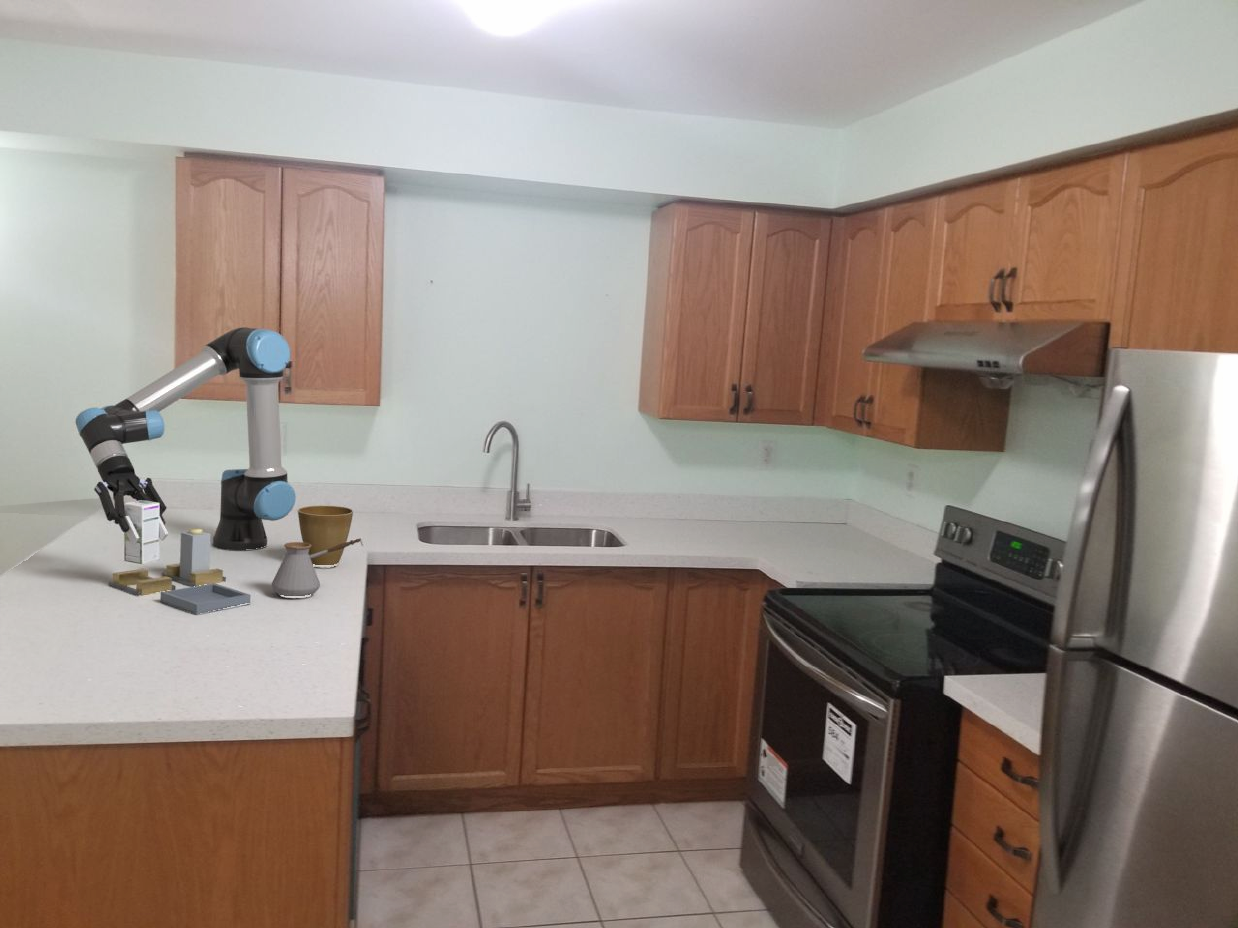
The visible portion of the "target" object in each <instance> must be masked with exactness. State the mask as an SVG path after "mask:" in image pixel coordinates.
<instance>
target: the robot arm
mask: <svg viewBox="0 0 1238 928" xmlns="http://www.w3.org/2000/svg"><path fill="white" fill-rule="evenodd" d="M201 348H202V349H201V352H200V353H198V354H197V355H195V356H193V357H192V358H190V359H188V360H186V361H185V362H183V363H182V364H180V365H179V366H177V367H176V368H173V369H172V370H170V371H169V372H167V373H166V374H164V375H162V376H161V377H159V378H157V379H156V380H154V381H153V382H151V383H150V384H148V385H145V387H143V388H141V389H139V390H138V391H136V392H135V393H133V394H132V395H130V396H128V397H126V398H125V399H123V400H121V401H120V402H118V403H116V404H115V405H105V406H103V407H102V408H101V407H100V408H99V407H90V408H86V409H85V410H82V411H81V412H79V414H78V415H77V416H76V418H75V422H74V423H75V425H76V428H77V431H78V435H79V436H80V437H81V439H82V441H83V443H84V445H85V447H86V449H87V451H88V453H89V455H90V457H91V459H92V462H93V463H94V465H95V467H96V469H97V473H98V475H99V476H100V479H101V480H102V481H103V482H102V481H98V482H97V484H96V485H95V487H94V489H93V490H94V492H95V493H96V494H97V495H98V497H99V500H100V502H101V506H102V509H103V511H104V514H105V517H106V520H107V521H109V522H112V521H113V523H114V524H116V525H119V527H120V530H121V531H122V532H123V533H124V532H126V534H127V536H128V538H129V540H130V542H131V544H132V545H135V544H136V542H137V541H138V539H139V536H138V534H137V532H136V530H135V528H134V526H133V523H132V521H131V519H130V517H129V516H125V511H124V503H125V500H124V498H125V497H126V496H130V498H132V499H133V500H135V501H137V500H143V501H150V502H156V503H159V510H160V512H159V541H161V542H162V541H165V539H166V538H167V537H168V536H169V532H168V530H167V528H166V521H165V518H164V516H163V514H164V513H165V511H166V510H167V506H166V505H165V502H164V501H163V500H162V499H163V498H161V496H160V494H159V493H158V492H157V490H156V489H155V486H154V485H153V481H152V478H150V477H147V478H146V479H142V478H141V479H140V477H139V476H137V475H136V473H135V468H134V466H133V464H132V462H131V459H130V458H129V456H128V453H127V451H126V450H125V448H124V446H123V444H129V443H130V444H131V443H137V442H138V443H139V442H142V441H143V442H144V441H145V442H146V441H151V440H154V439H155V440H156V439H159V438H160V439H161V437H162V436H163V435H164V433H165V422H164V418H163V416H162V414H161V413H160V412H161V411H163V410H165V409H166V408H169V406H171V405H173V404H174V403H175V402H178V401H179V400H180V399H182V398H184V397H185V396H187V395H188V394H190V393H192V392H193V391H195V390H197V389H198V388H199V387H202V385H204V384H206V383H208V382H209V381H211V380H212V379H214V378H216V377H217V376H225V375H227V374H229V373H230V372H233V371H235V370H238V371H239V372H238V373H239V379H240V380H241V381H242V382H244V384H245V397H246V400H245V401H246V419H247V420H246V421H247V439H248V440H247V441H248V456H249V457H248V458H249V460H248V461H249V466H248V468H238V469H237V468H235V469H225V470H224V471H223V472H222V474H221V480H220V484H221V487H220V491H221V492H220V511H219V512H220V515H219V521H218V524H217V527H216V530H215V532H214V535H213V537H212V546H213V547H214V548H216V547H217V549H220V548H221V549H220V550H226V549H229V550H228V551H247V550H246V549H255V550H257V549H256V548H261V547H264V546H266V545H267V546H268V537H267V532H266V530H265V526H264V522H263V520H265V521H279V520H281V519H284V518H285V517H287V516H288V515H289V513H290V512H291V511H292V510H293V509H294V507H295V503H296V498H297V497H296V492H295V489H294V487H292V485H291V484H290V483H289V481H288V470H287V469H285V468H284V467H283V465H282V452H281V451H282V450H281V449H282V448H281V427H280V426H281V424H280V403H279V402H280V400H279V399H280V397H279V382H281V380H282V379H283V378H284V369H285V368H286V366H287V365H289V362H290V358H291V348H290V346H289V343H288V342H287V340H286V339H285V337H283V336H282V334H280V333H279V332H276V331H274V330H272V329H271V330H270V329H267V328H254V327H252V328H251V327H241V326H240V327H237V328H234V329H232V330H228V331H227V332H226V333H224V334H222V335H221V336H218V337H217V338H215V339H214V340H212V341H210V342H208V343H207V344H205V345H204V346H203V347H201ZM109 491H110V492H112V497H113V499H112V497H111V495H110V493H109ZM113 500H114V503H113ZM124 516H125V517H124ZM267 546H266V547H267ZM264 548H265V547H264ZM261 549H262V548H261Z"/></svg>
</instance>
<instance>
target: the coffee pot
mask: <svg viewBox="0 0 1238 928" xmlns="http://www.w3.org/2000/svg"><path fill="white" fill-rule="evenodd" d="M359 542H360V544H361V546H362V547H364V543H363V541H362V538H361V537H360V538H356V539H354V540H350V541H347V542H346V543H342V544H339V545H337V546H334V547H332V548H329V549H327V550H325V551H321V552H318V553H315V554H312V555H309V554H308V552H309V549H310V547H311V544H309V543H303V541H302V542H299V541H295V542H286V543H284V544H283V545H284V547H285V550H286V553H285V555H284V558H283V560H282V562H281V563H280V566H279V567H278V569H277V572H276V573H275V576H274V577H273V580H272V582H271V587H272V590H273V591H274V592H275V593H276V594H278V595H279V594H280V595H284V596H305V595H310V594H312V595H314V594H316V592H317V591H318V590H319V589H320V587H321V583H320V580H319V578H318V575H317V572H316V570H315V569H316V568H314V567H313V564H312V561H311V559H312V558H315V557H317V556H320V555H323V554H325V553H329V552H332V551H335V550H339V549H342V548H344V549H345V548H347V547H349V546H353V545H354V544H355V543H359ZM313 593H314V594H313Z"/></svg>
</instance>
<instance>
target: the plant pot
mask: <svg viewBox="0 0 1238 928" xmlns="http://www.w3.org/2000/svg"><path fill="white" fill-rule="evenodd" d="M353 514H354V510H353V509H352V508H350V507H349V508H348V507H345V506H338V505H310V506H304V507H300V508H298V509H297V515H298V523H299V528H300V529H299V530H300V536H301V540H302V542H303V543H309V544H311V547H310V549H309V552H308V554H309V555H312V554H315V553H318V552H321V551H325V550H327V549H329V548H332V547H334V546H337V545H339V544H342V543H346V542H348V538H349V534H350V531H351V526H352V522H353V521H352V520H353V516H354V515H353ZM344 551H345V548H342V549H339V550H335V551H332V552H329V553H325V554H323V555H320V556H317V557H315V558H312V559H311V561H312V564H315V565H334V564H337V563H338V564H339V563H340V560H341V558H342V555H343V553H344Z"/></svg>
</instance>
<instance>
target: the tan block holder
mask: <svg viewBox="0 0 1238 928" xmlns="http://www.w3.org/2000/svg"><path fill="white" fill-rule="evenodd" d="M133 585H136V588H134V587H131V586H133ZM108 586H109V587H112V588H115V589H117V590H121V591H122V590H123V592H125V591H126V593H128V592H129V593H128V594H131V593H132V594H131V595H134V596H136V595H137V596H138V597H140V596H139V595H141V596H146V595H145V594H147V595H151V594H150V593H153V594H157V593H156V592H159V593H161V592H160V591H167V590H176V586H177V585H175V584H173V581H172V578H170V577H163V576H159V577H150V576H149V570H147V569H144V568H138V569H132V570H131V569H130V570H125V571H117V572H113V573H112V580H110V581H109V582H108ZM137 596H136V597H137Z"/></svg>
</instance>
